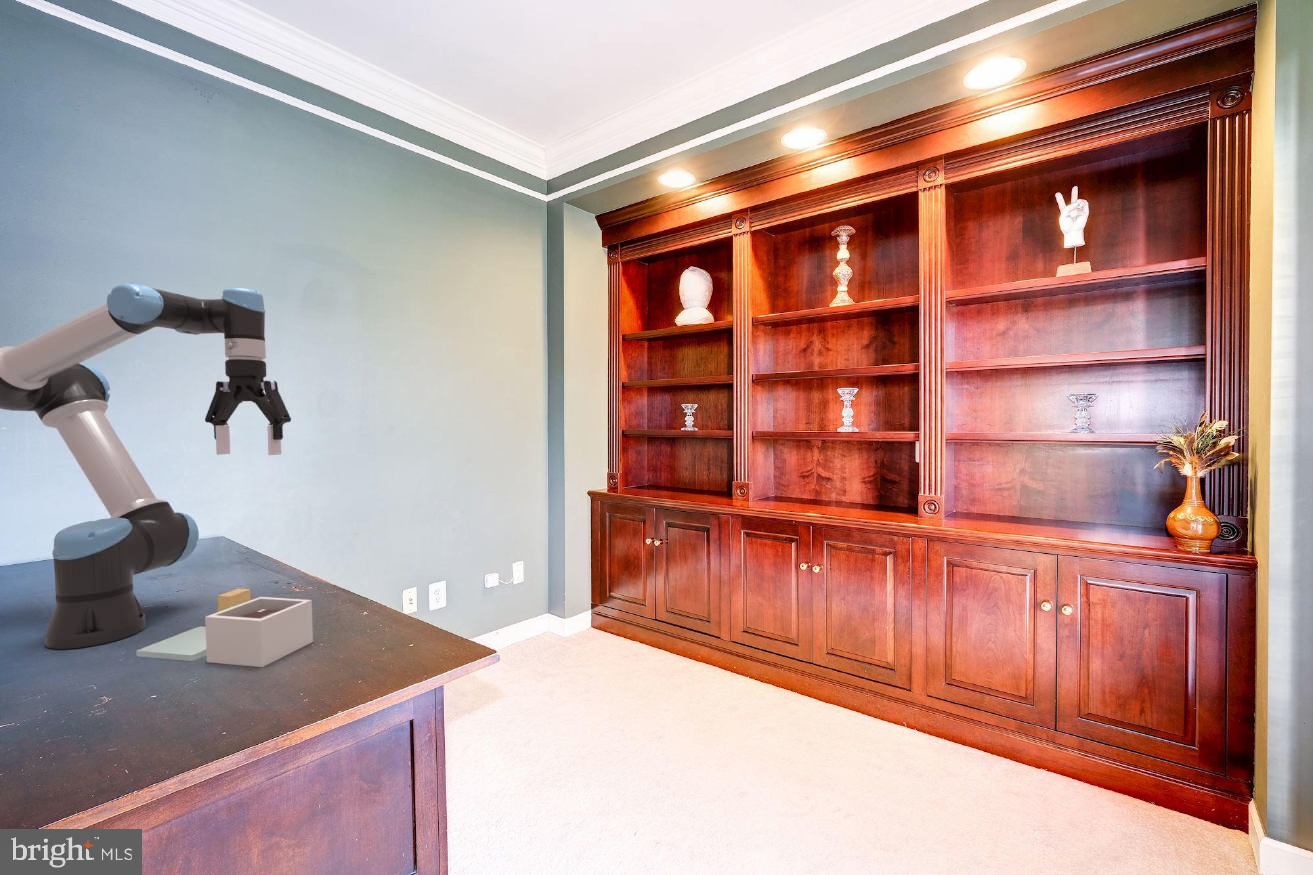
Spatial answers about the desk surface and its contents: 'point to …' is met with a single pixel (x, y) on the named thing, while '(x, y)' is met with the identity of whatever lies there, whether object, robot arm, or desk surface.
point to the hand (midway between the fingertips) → (248, 454)
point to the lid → (192, 634)
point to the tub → (258, 632)
